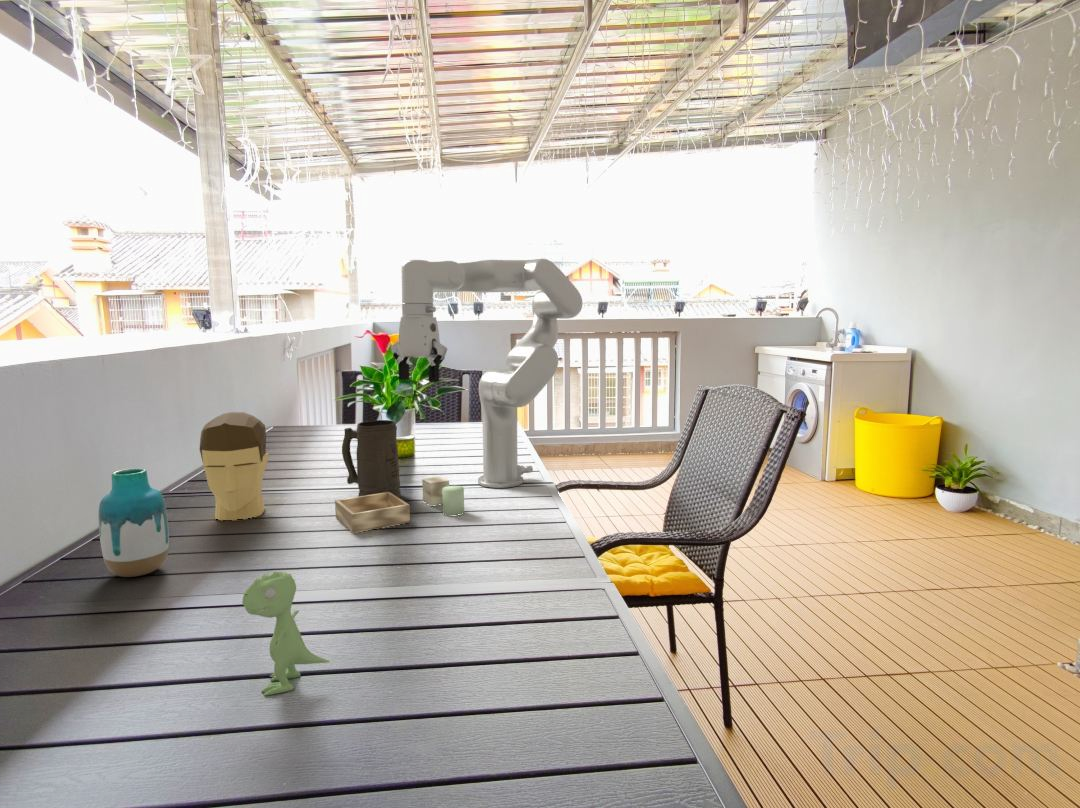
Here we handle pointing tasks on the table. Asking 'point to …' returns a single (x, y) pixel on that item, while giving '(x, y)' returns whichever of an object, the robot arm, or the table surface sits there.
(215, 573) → the table surface
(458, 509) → the green cylinder
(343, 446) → the beer stein
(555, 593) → the table surface
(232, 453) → the head
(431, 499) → the cream block
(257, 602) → the toy
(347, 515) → the box
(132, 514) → the vase
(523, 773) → the table surface
